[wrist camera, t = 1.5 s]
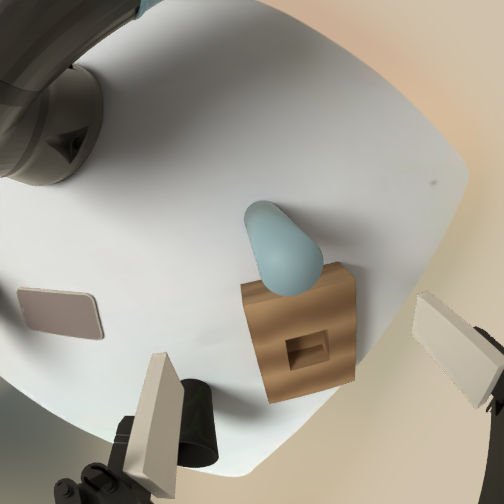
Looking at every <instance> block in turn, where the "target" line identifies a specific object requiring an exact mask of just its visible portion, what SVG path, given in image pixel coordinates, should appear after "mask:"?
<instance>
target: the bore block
mask: <svg viewBox="0 0 504 504" xmlns="http://www.w3.org/2000/svg"><path fill="white" fill-rule="evenodd" d="M241 293H242V302H243V308H244V312H245V315H246V319H247V323H248V327H249V331H250V335H251V339H252V342H253V346H254V350H255V354H256V357H257V361H258V365H259V368H260V372H261V376H262V380H263V383H264V387H265V390H266V394H267V398H268V401H269V404H271V403H276V402H280V401H285V400H289V399H293V398H297V397H301V396H305V395H309V394H312V393H316V392H320V391H323V390H326V389H330V388H333V387H336V386H340V385H343V384H346V383H349V382H352V381H354V380H355V364H356V285H355V278H354V277H353V276H352V275H351V274H350V273H349V272H348V271H347V270H346V269H345V268H344V267H343V266H342V265H341V264H340V263H339V262H335V263H331V264H327V265H323V269H322V273H321V275H320V277H319V279H318V281H317V282H316V283H315V284H314V286H312V287H311V288H310V289H309V290H307V291H306V292H304V293H302V294H299V295H295V296H282V295H278V294H276V293H274V292H272V291H270V290H269V289H268V288H267V287H266V286H265V285H264V283H263V281H262V280H259V281H254V282H250V283H245V284H241Z"/></svg>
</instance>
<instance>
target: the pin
mask: <svg viewBox="0 0 504 504" xmlns="http://www.w3.org/2000/svg"><path fill="white" fill-rule="evenodd" d="M244 221H245V226H246V229H247V232H248V236H249V239H250V243H251V246H252V249H253V253H254V256H255V260H256V263H257V266H258V270H259V273H260V277H261V279H262V281H263V283H264V285H265V286H266V287H267V288H268V289H269V290H270V291H272V292H274V293H276V294H278V295H282V296H295V295H299V294H302V293H304V292H306V291H307V290H309V289H310V288H311V287H312V286H314V284H315V283H316V282H317V281H318V279H319V277H320V275H321V273H322V269H323V256H322V253H321V250H320V248H319V247H318V246H317V244H316V243H315V242H314V241H313V240H312V239H311V238H310V237H309V236H307V235H306V234H305V233H304V232H303V231H302V230H301V229H300V228H299V227H298V226H297V225H296V224H295V223H294V222H293V221H292V220H291V219H290V218H289V217H287V216H286V215H285V214H284V213H283V212H282V211H281V210H280V209H279V208H278V207H277V206H276V205H274V204H273V203H271V202H269V201H258V202H255V203H253V204H252V205H250V206H249V208H248V209H247V211H246V213H245V217H244Z"/></svg>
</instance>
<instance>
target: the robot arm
mask: <svg viewBox="0 0 504 504" xmlns="http://www.w3.org/2000/svg"><path fill="white" fill-rule="evenodd" d="M161 1H163V0H0V178H2V177H8V178H11V179H14V180H17V181H19V182H22V183H25V184H28V185H32V186H43V185H48V184H53V183H57V182H60V181H62V180H64V179H66V178H67V177H69V176H70V175H72V174H73V173H74V172H75V171H76V170H77V169H78V168H79V167H80V166H81V165H82V164H83V162H84V161H85V160H86V158H87V157H88V155H89V154H90V152H91V150H92V148H93V146H94V144H95V142H96V139H97V137H98V134H99V131H100V127H101V122H102V116H103V99H102V93H101V89H100V87H99V84H98V82H97V80H96V79H95V77H94V76H93V75H92V74H91V73H90V72H89V71H87V70H86V69H84V68H82V67H81V66H79V65H77V64H74V62H75V61H76V60H78V59H79V58H80V57H81V56H82V55H83V54H85V53H86V52H87V51H88V50H90V49H91V48H92V47H93V46H95V45H96V44H97V43H99V42H100V41H101V40H103V39H104V38H106V37H107V36H109V35H110V34H111V33H113V32H114V31H116V30H117V29H119V28H120V27H122V26H123V25H125V24H127V23H128V22H130V21H131V20H136V19H138V18H140V17H141V16H142V15H143V13H144V12H145V11H147V10H148V9H150V8H151V7H153V6H155V5H156V4H158V3H159V2H161ZM411 334H412V336H413V337H414V338H415V339H416V340H417V341H418V342H419V343H420V345H421V346H422V347H423V348H424V349H425V350H426V351H427V352H428V353H429V355H430V356H431V357H432V358H433V359H434V360H435V361H436V363H437V364H438V365H439V366H440V367H441V368H442V369H443V371H444V372H445V373H446V374H447V375H448V376H449V378H450V379H451V380H452V381H453V382H454V384H455V385H456V386H457V387H458V388H459V390H460V391H461V392H462V393H463V394H464V396H465V397H466V398H467V399H468V401H469V402H470V403H471V404H472V406H473V407H474V408H475V409H477V408H479V407H480V406H481V405H483V404H484V403H485V402H486V401H487V399H488V398H489V396H490V394H492V395H493V396H494V397H493V399H492V400H491V402H490V404H489V406H488V407H487V409H486V412H488V410H489V409H490V407H491V406H492V409H491V411H490V412H491V431H490V441H489V450H488V458H487V464H486V471H485V476H484V481H483V486H482V491H481V494H480V498H479V502H478V504H504V347H503V346H501V344H499V343H498V342H497V341H495V339H494V338H493V337H490V335H489V334H488V333H487V332H486V331H484V330H483V329H481V328H479V327H476V326H475V327H471V326H470V325H469V324H468V323H467V322H466V321H465V320H463V319H462V318H461V317H460V316H459V315H457V314H456V313H455V312H454V311H453V310H451V309H450V308H449V307H448V306H446V305H445V304H444V303H443V302H441V301H440V300H439V299H438V298H436V297H435V296H434V295H433V294H431V293H430V292H429V291H425V292H422V293H419V294H417V301H416V308H415V315H414V322H413V328H412V333H411ZM183 397H184V388H183V386H182V384H181V382H180V380H179V378H178V376H177V374H176V372H175V369H174V367H173V365H172V363H171V361H170V359H169V357H168V354H167V352H164V353H156V354H152V357H151V360H150V364H149V367H148V370H147V374H146V377H145V381H144V384H143V388H142V392H141V395H140V399H139V403H138V407H137V411H136V414H135V416H124V418H123V419H122V420H121V422H120V423H119V424H118V428H117V432H116V436H115V439H114V444H113V446H112V451H111V454H110V458H109V462H108V466H106V465H104V464H102V463H92V464H89V465H87V466H86V467H85V468H84V469H83V471H82V473H81V481H82V483H81V484H77V483H76V482H74V481H73V480H71V479H69V478H64V479H61V480H59V481H58V482H57V483H56V484H55V487H54V497H55V503H56V504H154V503H153V502H152V501H151V500H150V497H151V494H153V495H154V496H155V497H157V498H168V499H174V498H175V484H176V469H177V457H178V445H179V434H180V424H181V414H182V405H183Z"/></svg>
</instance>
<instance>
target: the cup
mask: <svg viewBox="0 0 504 504" xmlns="http://www.w3.org/2000/svg"><path fill="white" fill-rule="evenodd" d="M180 382H181V384H182V386H183V388H184V397H183V405H182V414H181V424H180V434H179V445H178V457H177V465H178V466H182V467H189V468H200V467H206V466H210V465H212V464H214V463H215V462H217V460H218V458H219V455H218V448H217V440H216V432H215V424H214V415H213V406H212V396H211V389H210V387H209V386H208V385H207V384H206V383H204V382H202V381H200V380H197V379H184V380H181V381H180Z"/></svg>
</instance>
